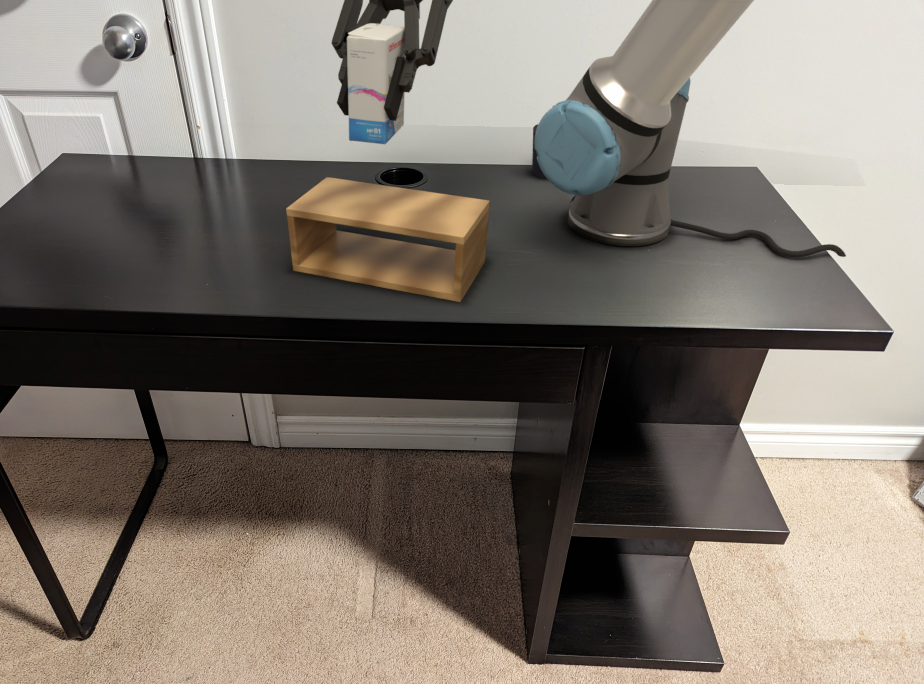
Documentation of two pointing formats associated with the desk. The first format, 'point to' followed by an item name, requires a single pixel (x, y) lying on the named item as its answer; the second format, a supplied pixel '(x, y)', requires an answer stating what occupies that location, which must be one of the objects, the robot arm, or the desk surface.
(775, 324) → the desk surface
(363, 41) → the ink box
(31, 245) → the desk surface
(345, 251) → the oak stand
